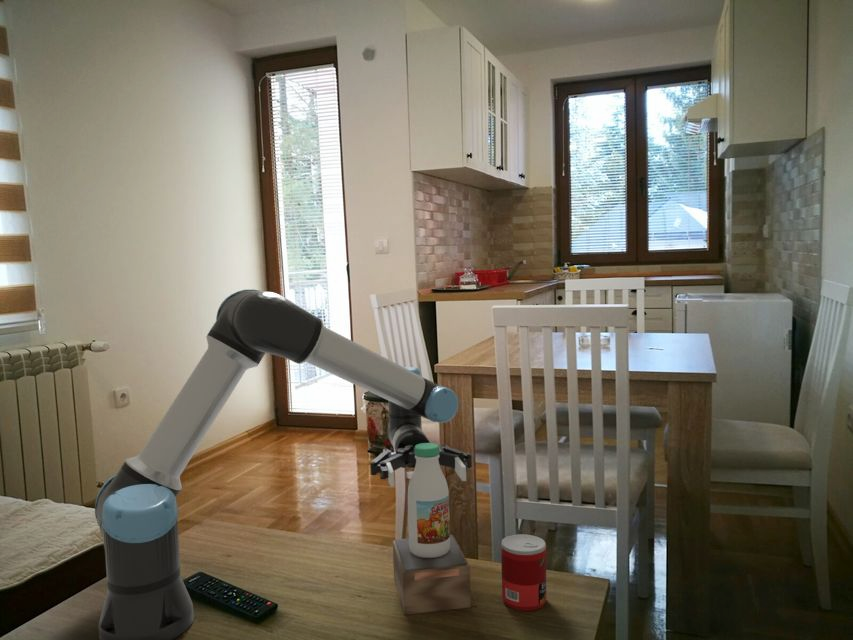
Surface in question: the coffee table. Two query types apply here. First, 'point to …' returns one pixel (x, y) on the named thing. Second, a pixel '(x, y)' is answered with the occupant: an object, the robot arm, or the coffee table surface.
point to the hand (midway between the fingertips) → (428, 477)
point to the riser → (431, 579)
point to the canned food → (523, 572)
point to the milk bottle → (428, 505)
